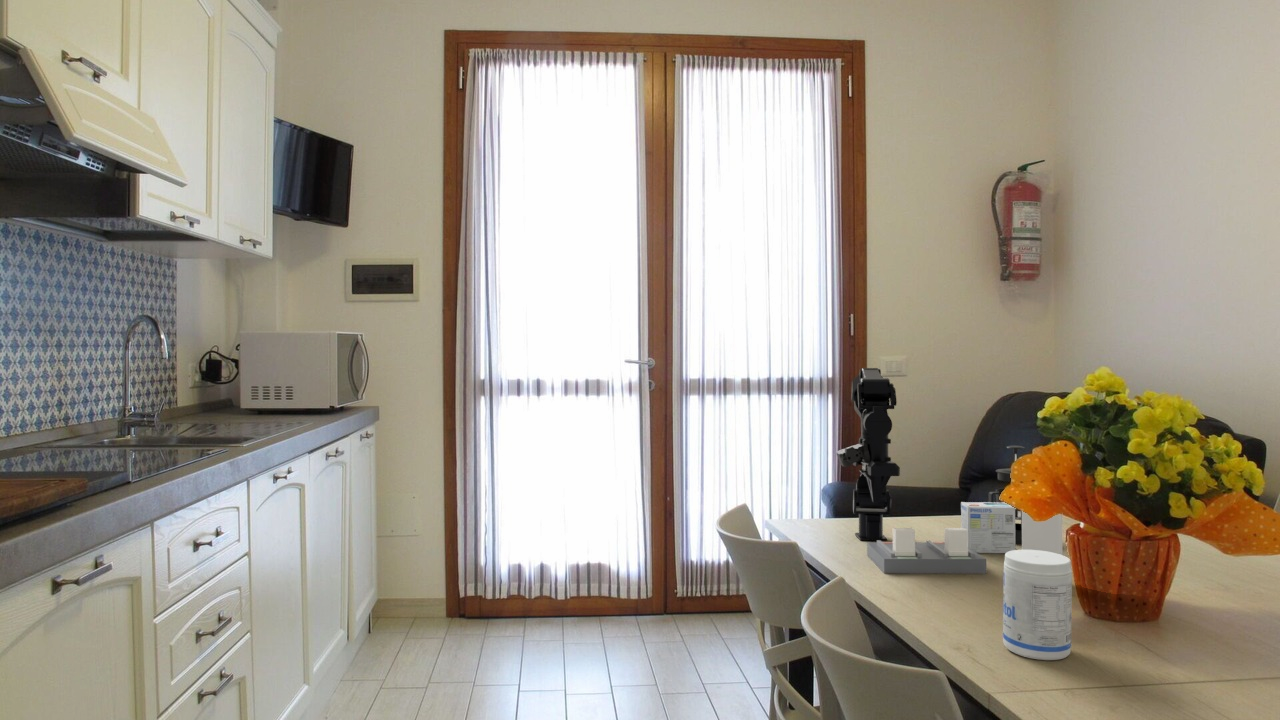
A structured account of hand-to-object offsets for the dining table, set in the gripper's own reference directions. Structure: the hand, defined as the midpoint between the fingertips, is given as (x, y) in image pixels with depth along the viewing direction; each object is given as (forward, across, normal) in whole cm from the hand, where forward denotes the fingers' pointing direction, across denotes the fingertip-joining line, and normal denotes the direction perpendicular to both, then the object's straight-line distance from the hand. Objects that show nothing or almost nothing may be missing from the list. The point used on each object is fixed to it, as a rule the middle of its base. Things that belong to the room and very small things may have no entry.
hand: (875, 502), depth 189 cm
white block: (+9, +12, +3) cm, 15 cm away
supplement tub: (+12, +60, +10) cm, 62 cm away
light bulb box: (+12, -5, +27) cm, 30 cm away
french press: (+12, -15, +37) cm, 42 cm away
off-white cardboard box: (+12, +23, +27) cm, 37 cm away
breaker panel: (+12, +8, +8) cm, 17 cm away
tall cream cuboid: (+9, +12, +14) cm, 21 cm away
